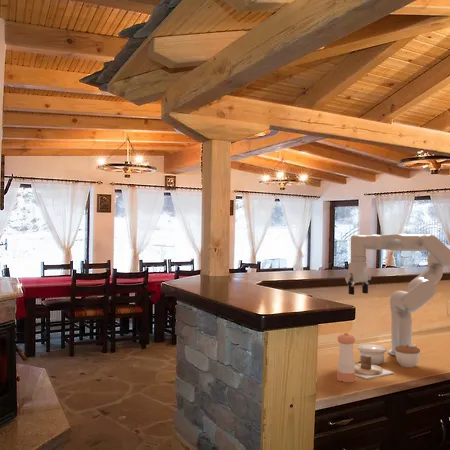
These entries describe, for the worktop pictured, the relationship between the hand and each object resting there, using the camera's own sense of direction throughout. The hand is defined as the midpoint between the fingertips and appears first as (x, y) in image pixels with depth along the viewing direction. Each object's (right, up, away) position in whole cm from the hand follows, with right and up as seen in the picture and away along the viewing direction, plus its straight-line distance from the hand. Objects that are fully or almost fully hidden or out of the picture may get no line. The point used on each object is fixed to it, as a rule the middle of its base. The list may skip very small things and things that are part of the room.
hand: (358, 293), depth 244 cm
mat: (-5, -29, -32) cm, 44 cm away
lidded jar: (+17, -30, -21) cm, 40 cm away
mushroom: (+2, -30, -16) cm, 34 cm away
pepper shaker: (-17, -29, -44) cm, 56 cm away
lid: (-5, -29, -32) cm, 43 cm away
